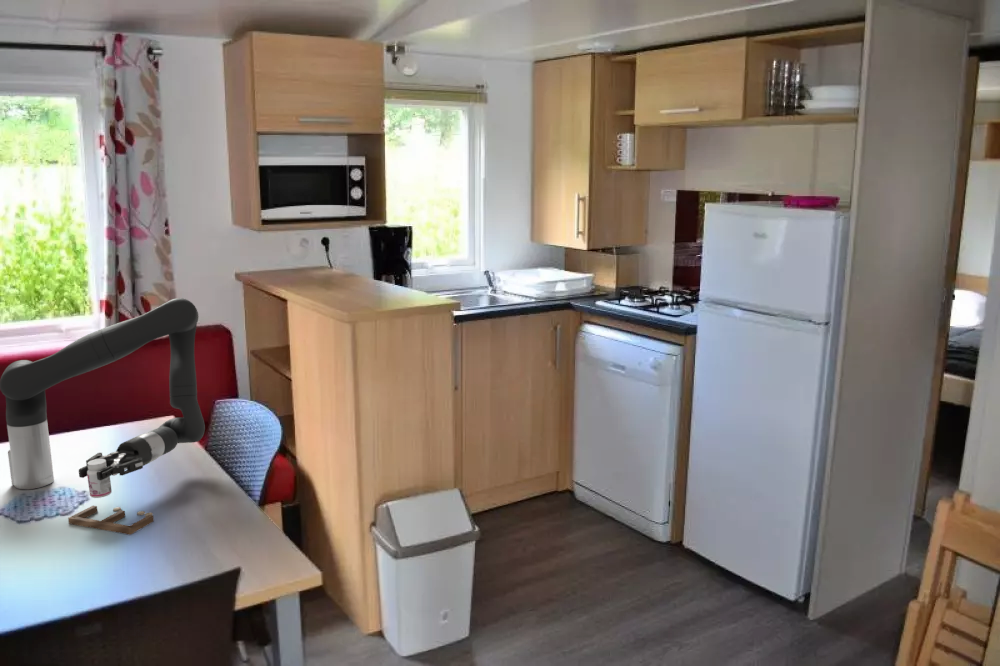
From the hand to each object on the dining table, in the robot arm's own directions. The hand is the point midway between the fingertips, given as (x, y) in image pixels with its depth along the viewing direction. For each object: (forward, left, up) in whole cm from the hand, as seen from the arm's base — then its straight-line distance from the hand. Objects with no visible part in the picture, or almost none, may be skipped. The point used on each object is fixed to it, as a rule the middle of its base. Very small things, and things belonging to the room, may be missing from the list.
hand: (89, 475), depth 193 cm
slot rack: (+4, +2, -12) cm, 13 cm away
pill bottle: (0, +3, -6) cm, 7 cm away
